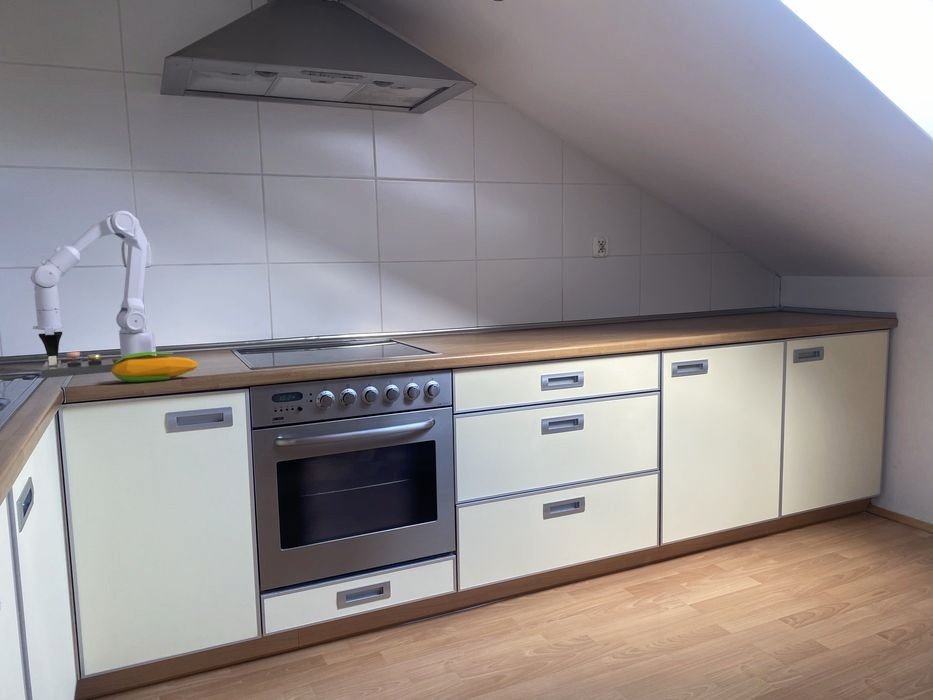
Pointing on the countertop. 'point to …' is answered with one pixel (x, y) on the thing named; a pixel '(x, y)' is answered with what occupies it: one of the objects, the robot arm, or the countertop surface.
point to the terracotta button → (73, 355)
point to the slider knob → (52, 360)
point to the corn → (151, 367)
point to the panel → (76, 368)
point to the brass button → (94, 357)
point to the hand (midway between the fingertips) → (53, 358)
